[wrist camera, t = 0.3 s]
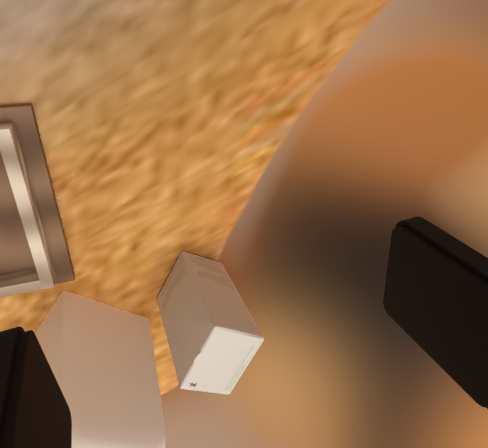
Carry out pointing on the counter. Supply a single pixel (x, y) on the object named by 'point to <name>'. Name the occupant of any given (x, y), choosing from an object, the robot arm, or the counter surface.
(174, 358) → the skincare box
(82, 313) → the milk
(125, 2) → the counter surface
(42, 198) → the brown rectangular tray
